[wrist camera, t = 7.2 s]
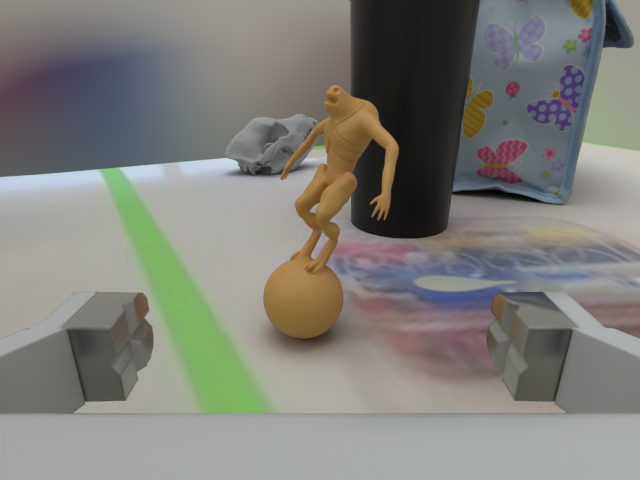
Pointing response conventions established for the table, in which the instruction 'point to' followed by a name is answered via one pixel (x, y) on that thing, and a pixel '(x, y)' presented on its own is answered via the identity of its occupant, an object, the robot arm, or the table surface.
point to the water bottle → (411, 107)
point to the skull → (270, 143)
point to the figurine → (327, 216)
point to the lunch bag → (533, 93)
